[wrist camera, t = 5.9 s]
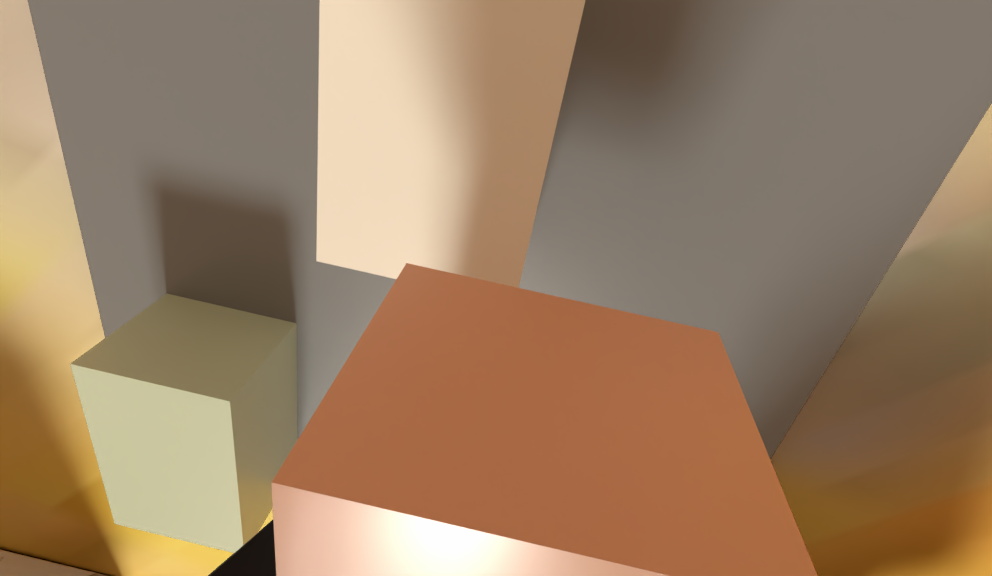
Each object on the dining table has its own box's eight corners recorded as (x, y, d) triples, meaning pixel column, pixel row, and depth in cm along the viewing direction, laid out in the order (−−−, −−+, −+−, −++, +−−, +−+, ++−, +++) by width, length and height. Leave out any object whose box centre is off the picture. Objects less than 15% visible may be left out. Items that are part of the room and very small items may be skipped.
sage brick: (166, 293, 18) (70, 364, 15) (296, 323, 18) (229, 401, 15) (188, 438, 22) (114, 523, 18) (297, 465, 22) (243, 555, 18)
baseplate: (1062, -34, 11) (1305, -46, 8) (690, 574, 22) (713, 695, 18) (-14, -250, 12) (-289, -362, 8) (137, 442, 23) (50, 532, 19)
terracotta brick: (406, 263, 8) (270, 482, 4) (718, 331, 8) (833, 614, 4) (376, 551, 11) (288, 800, 8) (589, 602, 11) (594, 877, 8)
